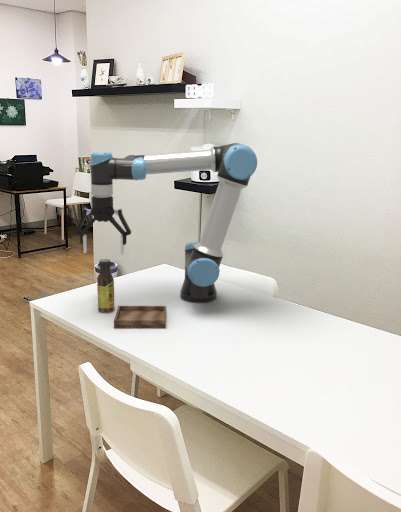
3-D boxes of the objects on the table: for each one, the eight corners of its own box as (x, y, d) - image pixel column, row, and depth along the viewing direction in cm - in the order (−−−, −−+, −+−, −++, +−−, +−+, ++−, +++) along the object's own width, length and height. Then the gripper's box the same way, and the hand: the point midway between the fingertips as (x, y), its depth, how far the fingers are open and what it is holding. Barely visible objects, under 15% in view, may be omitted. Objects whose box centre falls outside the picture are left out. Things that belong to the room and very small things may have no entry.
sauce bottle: (112, 313, 185) (111, 263, 179) (96, 313, 185) (94, 262, 179) (116, 307, 191) (114, 258, 185) (100, 306, 191) (98, 257, 186)
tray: (166, 313, 186) (166, 305, 185) (165, 328, 172) (165, 320, 172) (118, 313, 185) (118, 305, 184) (114, 328, 172) (113, 320, 171)
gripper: (138, 195, 180) (138, 250, 186) (69, 193, 179) (71, 249, 185) (136, 198, 173) (136, 255, 179) (64, 196, 172) (67, 254, 177)
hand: (103, 252), depth 182 cm, fingers open, 13 cm apart
